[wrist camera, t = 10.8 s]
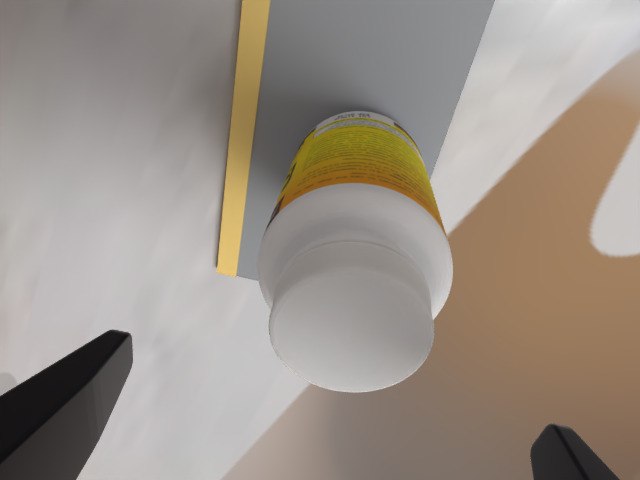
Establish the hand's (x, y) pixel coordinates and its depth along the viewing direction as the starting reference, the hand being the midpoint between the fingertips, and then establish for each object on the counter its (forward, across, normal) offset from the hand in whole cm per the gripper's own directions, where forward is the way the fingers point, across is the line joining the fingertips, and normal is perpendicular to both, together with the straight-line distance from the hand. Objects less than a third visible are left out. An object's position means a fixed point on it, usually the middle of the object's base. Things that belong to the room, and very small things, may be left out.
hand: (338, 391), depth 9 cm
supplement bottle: (+12, 0, 0) cm, 12 cm away
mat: (+12, +1, -1) cm, 12 cm away
